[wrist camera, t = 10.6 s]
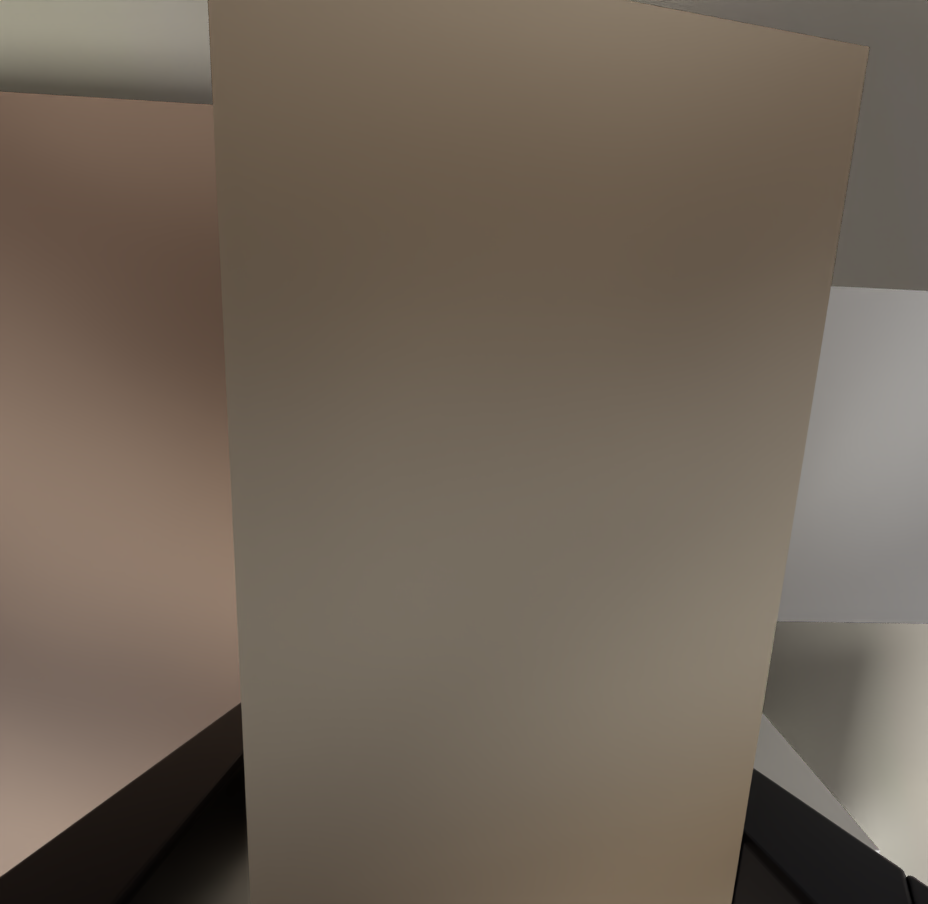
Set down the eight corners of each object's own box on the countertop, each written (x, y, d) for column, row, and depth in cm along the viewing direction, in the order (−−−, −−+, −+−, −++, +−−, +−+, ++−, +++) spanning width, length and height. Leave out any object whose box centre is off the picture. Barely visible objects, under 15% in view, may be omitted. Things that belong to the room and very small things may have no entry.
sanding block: (511, 961, 11) (648, 1417, 7) (300, 1010, 10) (283, 1586, 6) (562, 203, 8) (870, 47, 4) (276, 175, 8) (202, -84, 3)
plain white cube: (733, 883, 12) (832, 1069, 9) (538, 888, 12) (573, 1079, 9) (760, 710, 11) (879, 849, 8) (550, 710, 11) (595, 855, 8)
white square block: (789, 538, 10) (931, 623, 7) (565, 533, 10) (618, 618, 7) (827, 305, 9) (1007, 294, 6) (584, 294, 9) (653, 277, 6)
